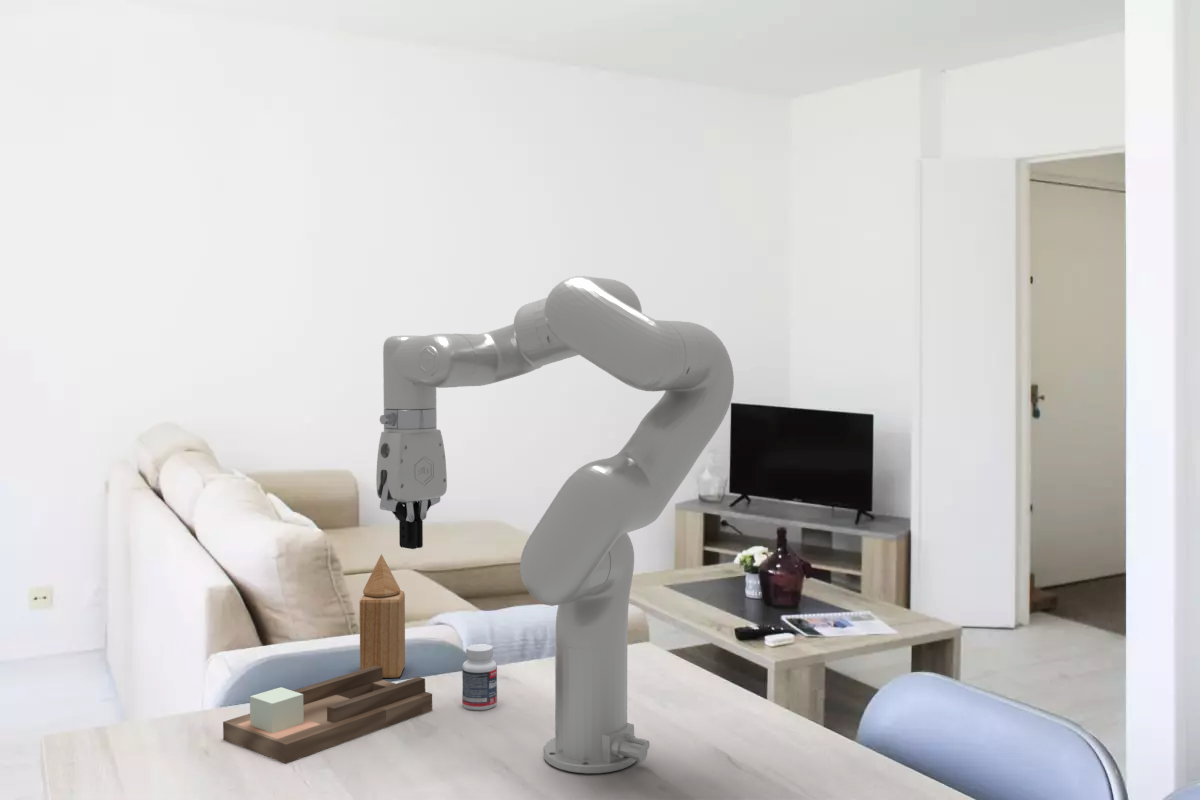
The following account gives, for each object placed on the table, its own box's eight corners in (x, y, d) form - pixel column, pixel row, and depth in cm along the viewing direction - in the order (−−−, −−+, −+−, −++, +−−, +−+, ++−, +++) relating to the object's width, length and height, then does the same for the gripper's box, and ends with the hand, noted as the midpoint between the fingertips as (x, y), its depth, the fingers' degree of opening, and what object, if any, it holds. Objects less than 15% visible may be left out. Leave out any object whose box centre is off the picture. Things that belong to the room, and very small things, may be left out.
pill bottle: (494, 711, 160) (494, 652, 159) (459, 711, 160) (459, 652, 159) (498, 699, 165) (498, 642, 165) (465, 699, 165) (464, 642, 165)
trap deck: (432, 710, 160) (432, 680, 160) (286, 763, 139) (285, 729, 139) (369, 691, 169) (369, 663, 168) (223, 739, 148) (222, 707, 148)
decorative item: (366, 667, 182) (365, 550, 181) (405, 666, 182) (404, 549, 181) (359, 679, 175) (358, 557, 174) (400, 678, 175) (399, 557, 175)
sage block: (303, 722, 147) (303, 694, 147) (272, 733, 143) (272, 703, 143) (281, 715, 150) (280, 687, 150) (250, 725, 146) (249, 696, 146)
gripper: (388, 425, 147) (389, 558, 148) (465, 419, 159) (466, 543, 159) (352, 422, 151) (353, 552, 152) (429, 417, 163) (430, 537, 164)
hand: (411, 547), depth 156 cm, fingers closed
